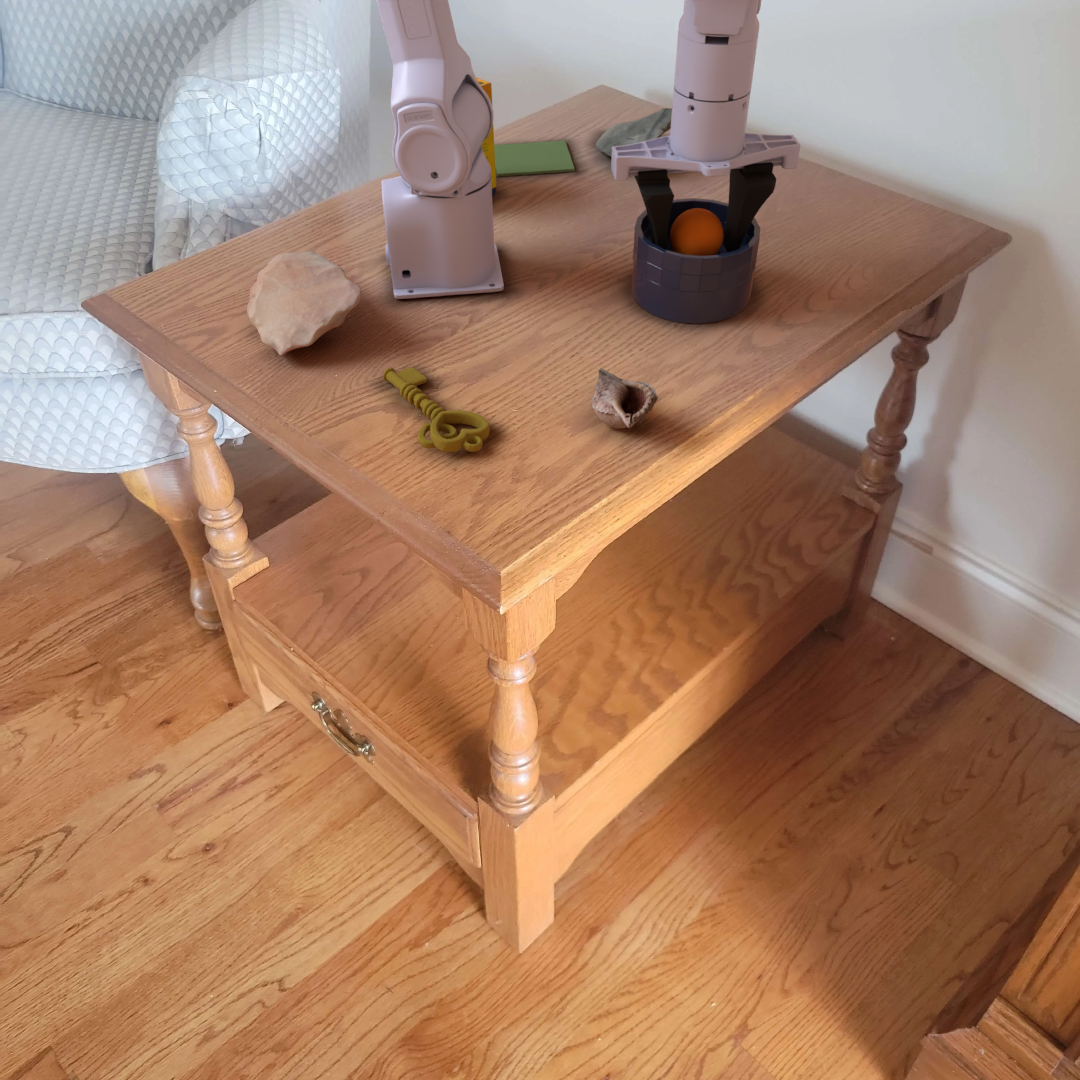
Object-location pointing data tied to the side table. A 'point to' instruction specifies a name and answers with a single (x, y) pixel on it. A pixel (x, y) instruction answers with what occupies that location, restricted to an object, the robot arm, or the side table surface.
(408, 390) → the key
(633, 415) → the seashell
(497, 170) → the green flat plate
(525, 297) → the side table surface
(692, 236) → the orange
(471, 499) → the side table surface
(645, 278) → the pot
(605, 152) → the stone
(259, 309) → the stone tool
